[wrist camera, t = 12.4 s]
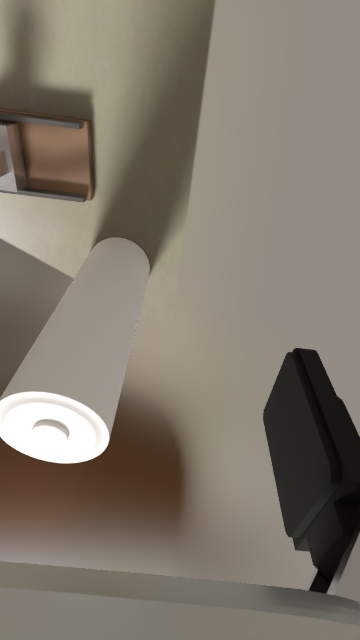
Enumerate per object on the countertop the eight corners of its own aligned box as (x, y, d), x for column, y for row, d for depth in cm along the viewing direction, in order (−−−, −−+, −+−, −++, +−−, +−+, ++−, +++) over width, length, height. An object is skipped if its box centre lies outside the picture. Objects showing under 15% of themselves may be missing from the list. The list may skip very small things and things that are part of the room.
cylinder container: (162, 264, 50) (130, 435, 26) (126, 302, 55) (71, 480, 30) (110, 224, 47) (19, 377, 23) (77, 268, 51) (-30, 437, 27)
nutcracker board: (-63, 100, 39) (-100, 103, 34) (90, 120, 40) (75, 126, 35) (-42, 180, 44) (-71, 193, 39) (93, 197, 45) (81, 211, 40)
